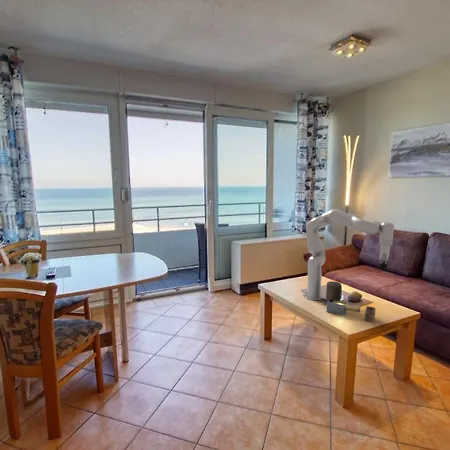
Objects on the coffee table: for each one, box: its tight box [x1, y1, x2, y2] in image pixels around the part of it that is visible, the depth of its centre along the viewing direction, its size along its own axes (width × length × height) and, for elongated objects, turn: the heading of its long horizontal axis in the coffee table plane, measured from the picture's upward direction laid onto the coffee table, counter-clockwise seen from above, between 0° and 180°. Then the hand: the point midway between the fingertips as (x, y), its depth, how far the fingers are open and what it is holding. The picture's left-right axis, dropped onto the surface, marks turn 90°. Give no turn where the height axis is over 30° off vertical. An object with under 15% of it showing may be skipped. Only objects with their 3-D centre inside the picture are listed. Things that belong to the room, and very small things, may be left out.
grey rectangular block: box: [325, 299, 348, 317], centre depth 197 cm, size 11×6×7 cm, turn 58°
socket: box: [364, 305, 376, 323], centre depth 187 cm, size 5×7×7 cm
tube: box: [333, 302, 361, 313], centre depth 194 cm, size 16×4×4 cm, turn 58°
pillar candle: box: [325, 281, 342, 303], centre depth 213 cm, size 10×10×15 cm
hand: (383, 267), depth 194 cm, fingers open, 9 cm apart
